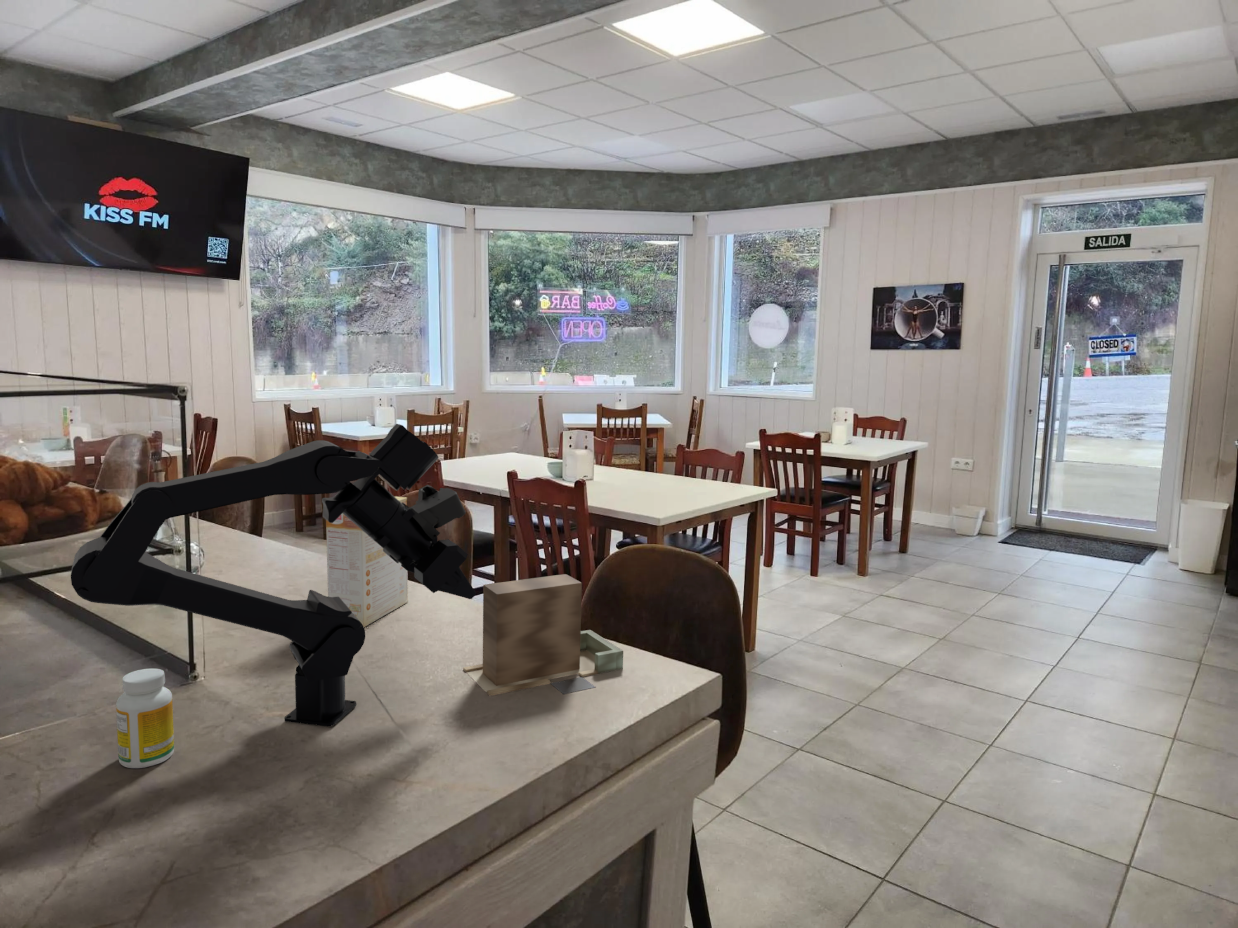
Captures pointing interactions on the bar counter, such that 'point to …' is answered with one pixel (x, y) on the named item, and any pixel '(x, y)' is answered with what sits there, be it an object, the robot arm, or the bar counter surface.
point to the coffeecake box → (363, 572)
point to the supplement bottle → (144, 719)
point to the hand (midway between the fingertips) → (465, 590)
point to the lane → (592, 662)
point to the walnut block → (531, 628)
